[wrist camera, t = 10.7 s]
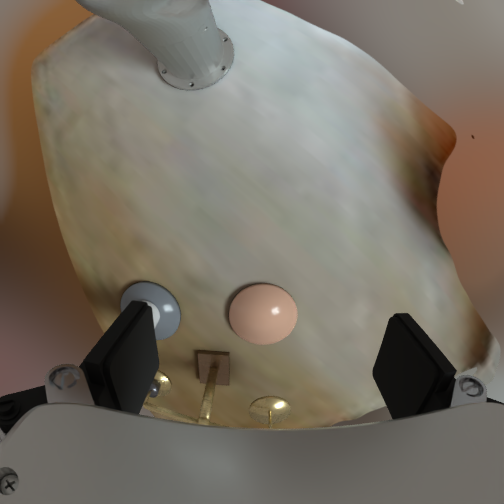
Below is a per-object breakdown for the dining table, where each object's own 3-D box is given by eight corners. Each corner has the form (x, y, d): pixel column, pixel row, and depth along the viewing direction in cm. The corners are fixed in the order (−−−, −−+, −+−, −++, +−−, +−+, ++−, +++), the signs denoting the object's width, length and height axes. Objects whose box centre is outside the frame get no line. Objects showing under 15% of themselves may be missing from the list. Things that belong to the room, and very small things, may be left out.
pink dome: (229, 281, 49) (229, 283, 48) (300, 284, 49) (301, 286, 48) (229, 339, 52) (228, 342, 51) (292, 342, 52) (293, 345, 51)
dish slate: (118, 278, 49) (116, 280, 48) (178, 283, 49) (177, 286, 48) (127, 333, 53) (125, 335, 52) (183, 340, 52) (182, 343, 52)
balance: (145, 343, 53) (110, 404, 36) (287, 354, 53) (297, 425, 36) (150, 372, 55) (122, 433, 38) (283, 383, 55) (289, 452, 38)
